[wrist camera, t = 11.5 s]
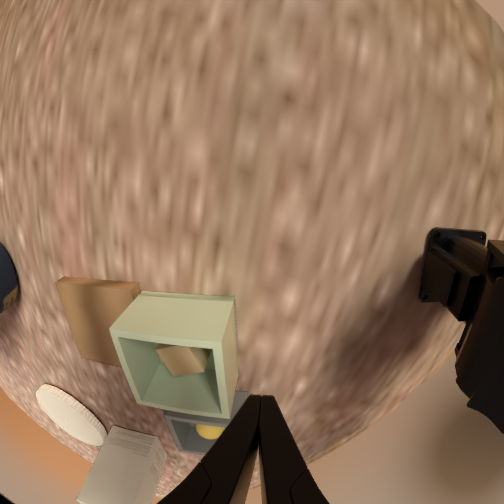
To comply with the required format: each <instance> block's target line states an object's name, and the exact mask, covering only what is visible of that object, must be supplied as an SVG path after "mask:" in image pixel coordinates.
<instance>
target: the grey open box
mask: <svg viewBox="0 0 504 504" xmlns="http://www.w3.org/2000/svg"><path fill="white" fill-rule="evenodd" d="M246 399H247V392H243V391H235V395H234V400H233V405H232V410H231V416H230V419H226V418H216V417H208V416H200V415H193V414H187V413H181V412H175V411H169V410H165V412H164V417H165V420H166V422H167V425H168V427H169V430H170V432H171V434H172V437H173V439H174V441H175V444H176V446H177V448H178V450H179V451H182V452H187V453H193V454H199V455H205V454H206V453H207V452H208V450H209V449H210V448H211V447H212V445H213V444H214V443H215V441H216V440H217V439H218V438H216V439H206V438H203V437H202V436H200V435H199V434H198V432H197V430H196V426H195V424H201V425H208V426H216V427H225V428H226V427H227V425H228V424H229V423H230V421H231V420H232V418H233V417H234V416H235V414H236V413H237V411H238V410H239V409H240V407H241V406H242V404H243V403H244V402H245V400H246Z"/></svg>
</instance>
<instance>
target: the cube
mask: <svg viewBox="0 0 504 504" xmlns="http://www.w3.org/2000/svg"><path fill="white" fill-rule="evenodd" d="M155 350H156V352H157V353H158V355H159V356H160V358H161V359H162V361H163V362H164V364H165V365H166V367H167V368H168V370H169V371H170V372H171V374H172V375H173V376H180V375H187V374H194V373H200V372H204V371H205V368H206V365H207V362H208V359H209V356H210V353H211V350H212V349H209V348H198V347H188V346H179V345H170V344H162V343H159V344H158V346H157V347H156V349H155Z"/></svg>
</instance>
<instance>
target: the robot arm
mask: <svg viewBox="0 0 504 504" xmlns="http://www.w3.org/2000/svg"><path fill="white" fill-rule="evenodd" d="M437 232H438V235H437V236H436V233H437ZM481 236H482V238H481ZM485 242H486V233H485V232H483V231H478V230H466V229H452V228H438V227H436V228H434V229H433V230H432V232H431V237H430V243H429V249H428V254H427V256H426V261H425V266H424V271H423V276H422V280H421V282H422V284H421V288H420V292H419V299H420V301H421V302H437V301H439V302H440V303H441V305H442V306H443V307H446V308H447V309H448V310H449V311H450V312H451V313H452V314H453V316H454V317H455V318H456V319H457V320H458V321H463V322H464V323H465V324H466V326H465V328H464V331H463V333H462V336H461V338H460V341H459V343H457V345H456V347H455V354H456V363H455V368H456V374H457V378H456V383H457V384H458V386H459V388H460V389H461V390H462V392H463V393H464V394H465V395H466V396H467V397H468V398H470V400H469V401H468V403H467V407H469V408H472V409H474V410H477V411H479V412H481V413H482V414H484V415H485V416H487V417H488V418H489V419H490V420H491V421H492V422H493V423H494V424H495V425H496V427H497V428H498V429H499V430H500V431H501V432H502V433H503V434H504V241H500V240H488V243H487V247H485ZM424 295H425V297H423V296H424ZM258 446H259V465H260V480H261V494H262V504H329V502H328V501H327V500H326V498H325V497H324V495H323V494H322V492H321V491H320V489H319V488H318V486H317V484H316V482H315V481H314V479H313V477H312V475H311V473H310V471H309V469H307V465H306V463H305V461H304V459H303V457H302V455H301V453H300V451H299V449H298V447H297V445H296V443H295V440H294V438H293V436H292V434H291V432H290V430H289V428H288V426H287V423H286V421H285V419H284V417H283V415H282V413H281V410H280V408H279V406H278V404H277V402H276V400H275V397H274V396H273V395H262V397H261V395H253V394H251V395H249V396H248V397H247V399H246V400H245V402H244V403H243V404H242V406H241V407H240V409H239V410H238V411H237V413H236V414H235V416H234V417H233V418H232V420H231V421H230V423H229V424H228V425H227V427H226V428H225V429H224V431H223V432H222V433H221V435H220V436H219V437H218V439H217V440H216V441H215V443H214V444H213V445H212V447H211V448H210V449H209V450H208V452H207V453H206V454H205V456H204V457H203V458H202V459H201V461H200V462H201V463H200V462H199V463H198V464H197V465H196V467H195V468H194V469H193V470H192V471H191V473H190V474H189V475H188V476H187V477H186V478H185V479H184V480H183V481H182V482H181V483H180V484H179V485H178V486H177V487H176V488H175V489H174V490H172V491H171V492H170V493H169V494H168V495H167V496H165V497H164V498H163V499H162V500H161V501H159V502H158V503H157V504H245V500H246V497H247V493H248V489H249V485H250V482H251V478H252V474H253V469H254V465H255V461H256V457H257V452H258ZM0 504H15V503H14V502H12V501H11V500H10V499H8V498H7V497H5V496H4V495H3V494H2V493H0Z"/></svg>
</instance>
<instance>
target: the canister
mask: <svg viewBox="0 0 504 504" xmlns="http://www.w3.org/2000/svg"><path fill="white" fill-rule="evenodd" d="M17 291H18V286H17V279H16V274H15V271H14V267H13V265H12V262H11V260H10V257H9V255H8V253H7V252H6V250H5V249H4V247H3V246H2V244H1V243H0V313H1V312H3V311H4V310H5V309H7V308H8V307H9V306H11V305H12V304H13V303H14V301H15V300H16V297H17Z"/></svg>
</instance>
